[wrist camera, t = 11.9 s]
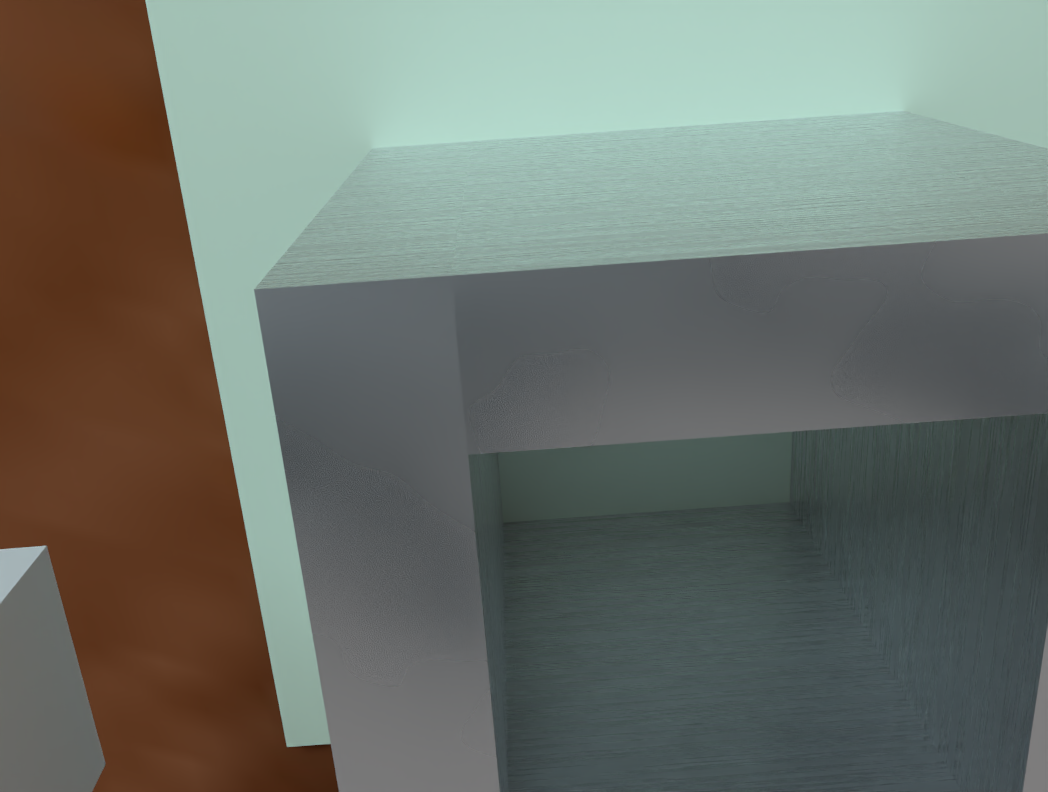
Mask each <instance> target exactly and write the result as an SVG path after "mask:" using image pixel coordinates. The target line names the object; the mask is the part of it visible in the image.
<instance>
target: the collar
mask: <svg viewBox="0 0 1048 792" xmlns="http://www.w3.org/2000/svg"><path fill="white" fill-rule="evenodd" d="M254 293H255V299H256V305H257V311H258V317H259V322H260V328H261V334H262V340H263V346H264V352H265V358H266V364H267V370H268V376H269V382H270V387H271V393H272V399H273V405H274V411H275V417H276V423H277V429H278V435H279V441H280V447H281V452H282V458H283V464H284V470H285V476H286V482H287V488H288V494H289V500H290V506H291V512H292V517H293V523H294V529H295V535H296V541H297V547H298V553H299V559H300V565H301V571H302V576H303V582H304V588H305V594H306V600H307V606H308V612H309V618H310V624H311V630H312V636H313V641H314V647H315V653H316V659H317V665H318V671H319V677H320V683H321V689H322V695H323V701H324V706H325V712H326V718H327V724H328V730H329V736H330V742H331V748H332V754H333V760H334V766H335V771H336V777H337V783H338V789H339V792H1048V149H1047V148H1043V147H1040V146H1036V145H1032V144H1028V143H1024V142H1020V141H1017V140H1013V139H1009V138H1005V137H1001V136H997V135H994V134H990V133H986V132H982V131H978V130H974V129H971V128H967V127H963V126H959V125H955V124H951V123H948V122H944V121H940V120H936V119H932V118H928V117H925V116H921V115H917V114H913V113H909V112H905V111H893V112H879V113H865V114H850V115H836V116H822V117H808V118H794V119H779V120H765V121H751V122H737V123H723V124H708V125H694V126H680V127H666V128H652V129H637V130H623V131H609V132H595V133H581V134H566V135H552V136H538V137H524V138H510V139H495V140H481V141H467V142H453V143H439V144H424V145H410V146H396V147H382V148H372V149H371V151H370V152H369V153H368V154H367V155H366V156H365V158H364V159H363V160H362V161H361V162H360V164H359V165H358V166H357V167H356V168H355V170H354V171H353V172H352V173H351V174H350V176H349V177H348V178H347V179H346V180H345V182H344V183H343V184H342V185H341V186H340V187H339V189H338V190H337V191H336V192H335V193H334V195H333V196H332V197H331V198H330V199H329V201H328V202H327V203H326V204H325V205H324V207H323V208H322V209H321V210H320V211H319V213H318V214H317V215H316V216H315V217H314V218H313V220H312V221H311V222H310V223H309V224H308V226H307V227H306V228H305V229H304V230H303V232H302V233H301V234H300V235H299V236H298V238H297V239H296V240H295V241H294V242H293V244H292V245H291V246H290V247H289V248H288V250H287V251H286V252H285V253H284V254H283V255H282V257H281V258H280V259H279V260H278V261H277V263H276V264H275V265H274V266H273V267H272V269H271V270H270V271H269V272H268V273H267V275H266V276H265V277H264V278H263V279H262V281H261V282H260V283H259V284H258V285H257V286H256V288H255V289H254ZM780 432H792V452H791V479H790V502H784V503H770V504H756V505H742V506H728V507H714V508H700V509H686V510H672V511H658V512H644V513H630V514H616V515H602V516H588V517H574V518H560V519H546V520H532V521H518V522H504V523H503V511H502V499H501V487H500V475H499V463H498V453H499V452H513V451H527V450H541V449H555V448H569V447H583V446H597V445H611V444H625V443H639V442H653V441H668V440H682V439H696V438H710V437H724V436H738V435H752V434H766V433H780Z"/></svg>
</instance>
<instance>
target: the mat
mask: <svg viewBox="0 0 1048 792" xmlns="http://www.w3.org/2000/svg"><path fill="white" fill-rule="evenodd" d="M145 1H146V6H147V11H148V17H149V22H150V27H151V33H152V38H153V43H154V48H155V54H156V59H157V64H158V69H159V75H160V80H161V85H162V91H163V96H164V101H165V106H166V112H167V117H168V122H169V128H170V133H171V138H172V143H173V149H174V154H175V159H176V164H177V170H178V175H179V180H180V186H181V191H182V196H183V201H184V207H185V212H186V217H187V222H188V228H189V233H190V238H191V244H192V249H193V254H194V259H195V265H196V270H197V275H198V281H199V286H200V291H201V296H202V302H203V307H204V312H205V317H206V323H207V328H208V333H209V339H210V344H211V349H212V354H213V360H214V365H215V370H216V375H217V381H218V386H219V391H220V397H221V402H222V407H223V412H224V418H225V423H226V428H227V433H228V439H229V444H230V449H231V455H232V460H233V465H234V470H235V476H236V481H237V486H238V492H239V497H240V502H241V507H242V513H243V518H244V523H245V528H246V534H247V539H248V544H249V550H250V555H251V560H252V565H253V571H254V576H255V581H256V586H257V592H258V597H259V602H260V608H261V613H262V618H263V623H264V629H265V634H266V639H267V645H268V650H269V655H270V660H271V666H272V671H273V676H274V681H275V687H276V692H277V697H278V703H279V708H280V713H281V718H282V724H283V729H284V734H285V739H286V745H287V747H295V746H309V745H322V744H331V742H330V736H329V730H328V724H327V718H326V712H325V706H324V701H323V695H322V689H321V683H320V677H319V671H318V665H317V659H316V653H315V647H314V641H313V636H312V630H311V624H310V618H309V612H308V606H307V600H306V594H305V588H304V582H303V576H302V571H301V565H300V559H299V553H298V547H297V541H296V535H295V529H294V523H293V517H292V512H291V506H290V500H289V494H288V488H287V482H286V476H285V470H284V464H283V458H282V452H281V447H280V441H279V435H278V429H277V423H276V417H275V411H274V405H273V399H272V393H271V387H270V382H269V376H268V370H267V364H266V358H265V352H264V346H263V340H262V334H261V328H260V322H259V317H258V311H257V305H256V299H255V293H254V289H255V288H256V286H257V285H258V284H259V283H260V282H261V281H262V279H263V278H264V277H265V276H266V275H267V273H268V272H269V271H270V270H271V269H272V267H273V266H274V265H275V264H276V263H277V261H278V260H279V259H280V258H281V257H282V255H283V254H284V253H285V252H286V251H287V250H288V248H289V247H290V246H291V245H292V244H293V242H294V241H295V240H296V239H297V238H298V236H299V235H300V234H301V233H302V232H303V230H304V229H305V228H306V227H307V226H308V224H309V223H310V222H311V221H312V220H313V218H314V217H315V216H316V215H317V214H318V213H319V211H320V210H321V209H322V208H323V207H324V205H325V204H326V203H327V202H328V201H329V199H330V198H331V197H332V196H333V195H334V193H335V192H336V191H337V190H338V189H339V187H340V186H341V185H342V184H343V183H344V182H345V180H346V179H347V178H348V177H349V176H350V174H351V173H352V172H353V171H354V170H355V168H356V167H357V166H358V165H359V164H360V162H361V161H362V160H363V159H364V158H365V156H366V155H367V154H368V153H369V152H370V151H371V149H372V148H382V147H396V146H410V145H424V144H439V143H453V142H467V141H481V140H495V139H510V138H524V137H538V136H552V135H566V134H581V133H595V132H609V131H623V130H637V129H652V128H666V127H680V126H694V125H708V124H723V123H737V122H751V121H765V120H779V119H794V118H808V117H822V116H836V115H850V114H865V113H879V112H893V111H905V112H909V113H913V114H917V115H921V116H925V117H928V118H932V119H936V120H940V121H944V122H948V123H951V124H955V125H959V126H963V127H967V128H971V129H974V130H978V131H982V132H986V133H990V134H994V135H997V136H1001V137H1005V138H1009V139H1013V140H1017V141H1020V142H1024V143H1028V144H1032V145H1036V146H1040V147H1043V148H1047V149H1048V0H145ZM791 452H792V432H780V433H766V434H752V435H738V436H724V437H710V438H696V439H682V440H668V441H653V442H639V443H625V444H611V445H597V446H583V447H569V448H555V449H541V450H527V451H513V452H499V453H498V463H499V475H500V487H501V499H502V511H503V523H504V522H518V521H532V520H546V519H560V518H574V517H588V516H602V515H616V514H630V513H644V512H658V511H672V510H686V509H700V508H714V507H728V506H742V505H756V504H770V503H784V502H790V479H791Z"/></svg>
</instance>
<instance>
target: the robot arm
mask: <svg viewBox="0 0 1048 792" xmlns="http://www.w3.org/2000/svg"><path fill="white" fill-rule="evenodd" d="M104 766H105V761H104V757H103V753H102V749H101V746H100V742H99V738H98V735H97V731H96V727H95V723H94V720H93V716H92V712H91V709H90V705H89V701H88V698H87V694H86V690H85V686H84V683H83V679H82V675H81V672H80V668H79V664H78V660H77V657H76V653H75V649H74V646H73V642H72V638H71V635H70V631H69V627H68V623H67V620H66V616H65V612H64V609H63V605H62V601H61V597H60V594H59V590H58V586H57V583H56V579H55V575H54V572H53V568H52V564H51V560H50V557H49V553H48V549H47V546H37V547H25V548H12V549H0V792H92V791H93V789H94V787H95V785H96V783H97V780H98V778H99V776H100V774H101V772H102V770H103V768H104Z"/></svg>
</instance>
